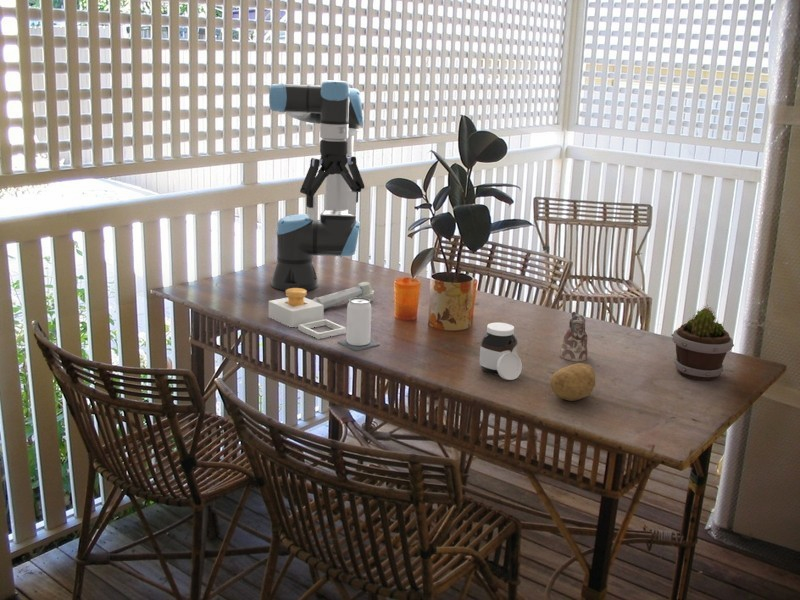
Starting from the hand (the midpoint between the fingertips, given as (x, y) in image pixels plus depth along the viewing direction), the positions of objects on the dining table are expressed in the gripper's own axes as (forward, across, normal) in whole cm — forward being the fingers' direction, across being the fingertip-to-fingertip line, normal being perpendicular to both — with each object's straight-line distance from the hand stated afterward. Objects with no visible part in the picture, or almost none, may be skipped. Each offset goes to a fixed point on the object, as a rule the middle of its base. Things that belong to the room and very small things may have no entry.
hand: (332, 216), depth 244 cm
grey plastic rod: (+32, +14, +14) cm, 38 cm away
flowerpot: (+32, +56, -84) cm, 106 cm away
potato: (+32, +16, -75) cm, 83 cm away
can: (+31, -3, -17) cm, 36 cm away
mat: (+32, -3, -17) cm, 36 cm away
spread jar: (+32, +14, -54) cm, 64 cm away
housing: (+32, -5, +4) cm, 32 cm away
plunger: (+31, -5, +10) cm, 33 cm away
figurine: (+32, +39, -57) cm, 76 cm away
